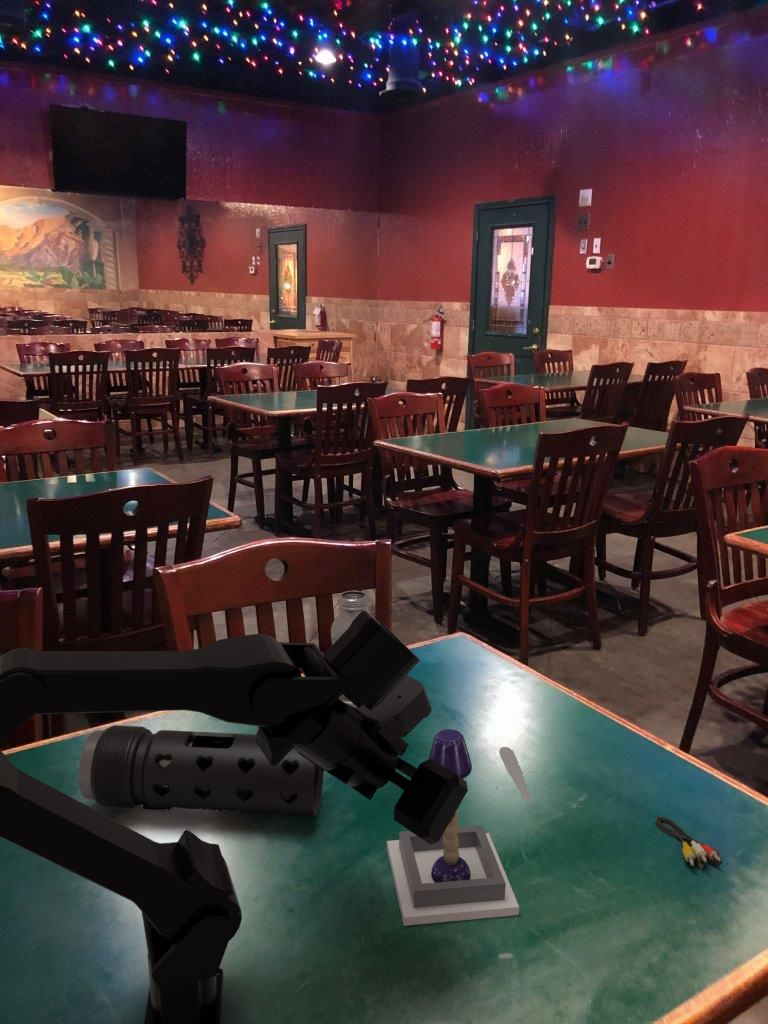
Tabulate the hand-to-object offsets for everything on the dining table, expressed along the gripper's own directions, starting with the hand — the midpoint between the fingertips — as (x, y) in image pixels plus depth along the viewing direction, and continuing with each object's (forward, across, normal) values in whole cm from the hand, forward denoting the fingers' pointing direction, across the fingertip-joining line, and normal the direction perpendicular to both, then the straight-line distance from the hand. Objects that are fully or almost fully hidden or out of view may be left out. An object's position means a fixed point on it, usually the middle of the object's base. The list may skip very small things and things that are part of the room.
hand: (418, 796), depth 84 cm
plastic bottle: (+22, +33, -4) cm, 40 cm away
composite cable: (+31, -14, -12) cm, 36 cm away
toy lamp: (+12, 0, +5) cm, 13 cm away
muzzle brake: (+3, +28, +15) cm, 32 cm away
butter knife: (+25, +2, -7) cm, 26 cm away
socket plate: (+12, 0, +5) cm, 13 cm away
